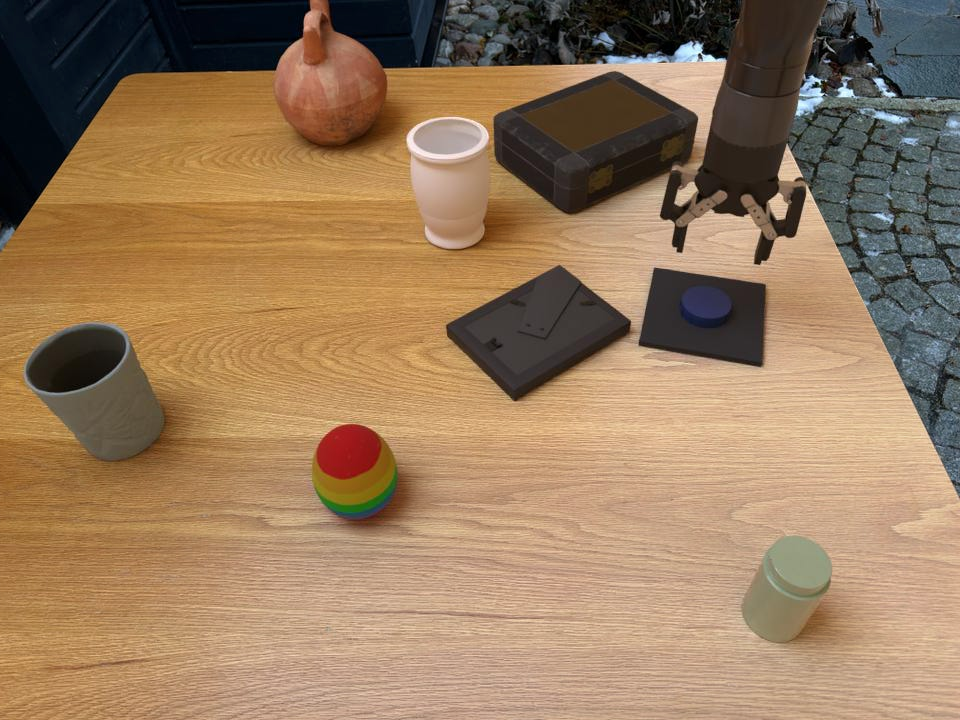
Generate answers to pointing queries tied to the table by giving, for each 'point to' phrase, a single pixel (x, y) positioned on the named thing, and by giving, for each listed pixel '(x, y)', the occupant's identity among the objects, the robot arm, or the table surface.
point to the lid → (705, 306)
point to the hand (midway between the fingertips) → (718, 254)
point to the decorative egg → (354, 471)
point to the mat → (724, 342)
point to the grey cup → (97, 389)
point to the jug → (329, 83)
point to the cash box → (593, 139)
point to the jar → (450, 179)
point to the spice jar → (787, 588)
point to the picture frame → (537, 331)
